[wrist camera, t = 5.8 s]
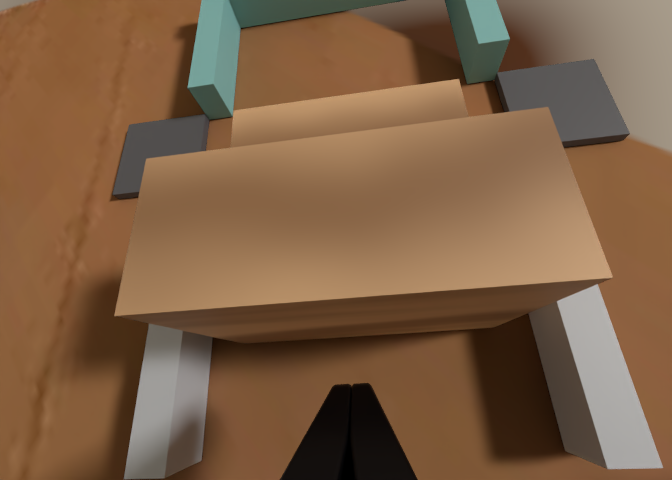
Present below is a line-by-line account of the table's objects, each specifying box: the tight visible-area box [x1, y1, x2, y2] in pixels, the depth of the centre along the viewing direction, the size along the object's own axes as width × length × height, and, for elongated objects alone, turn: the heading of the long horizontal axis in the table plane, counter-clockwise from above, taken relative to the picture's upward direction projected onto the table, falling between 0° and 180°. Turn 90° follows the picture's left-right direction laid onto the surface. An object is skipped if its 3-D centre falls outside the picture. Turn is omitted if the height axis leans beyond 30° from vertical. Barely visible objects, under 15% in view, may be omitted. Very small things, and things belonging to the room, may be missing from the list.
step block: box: [114, 79, 613, 344], centre depth 13 cm, size 11×11×8 cm
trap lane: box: [113, 0, 663, 479], centre depth 17 cm, size 28×27×3 cm
